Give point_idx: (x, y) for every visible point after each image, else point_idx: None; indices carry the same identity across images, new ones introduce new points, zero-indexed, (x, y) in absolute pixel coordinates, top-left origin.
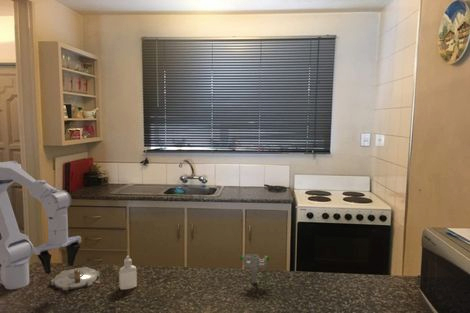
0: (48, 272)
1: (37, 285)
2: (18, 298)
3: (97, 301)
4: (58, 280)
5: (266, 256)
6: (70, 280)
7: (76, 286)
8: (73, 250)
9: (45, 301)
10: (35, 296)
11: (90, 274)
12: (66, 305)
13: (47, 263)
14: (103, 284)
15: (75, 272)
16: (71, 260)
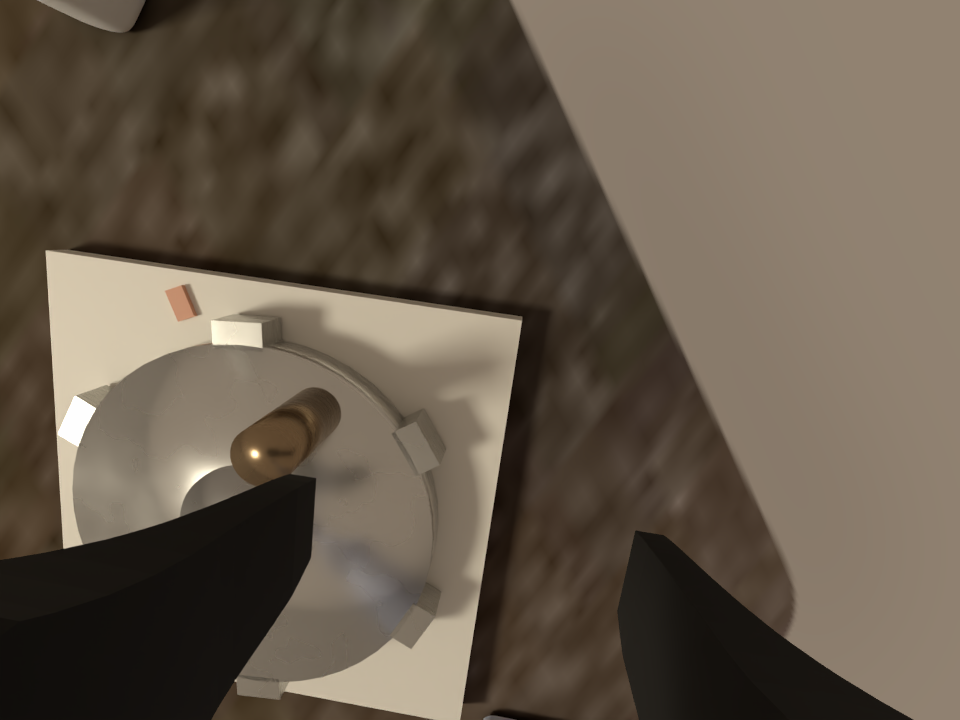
0: (675, 545)
1: (466, 704)
2: None
3: (387, 41)
4: (391, 583)
5: None
6: (333, 493)
7: (355, 379)
8: (105, 603)
9: (603, 445)
10: (586, 577)
11: (152, 435)
12: (568, 235)
13: (780, 648)
14: None
15: (293, 447)
16: (268, 527)
